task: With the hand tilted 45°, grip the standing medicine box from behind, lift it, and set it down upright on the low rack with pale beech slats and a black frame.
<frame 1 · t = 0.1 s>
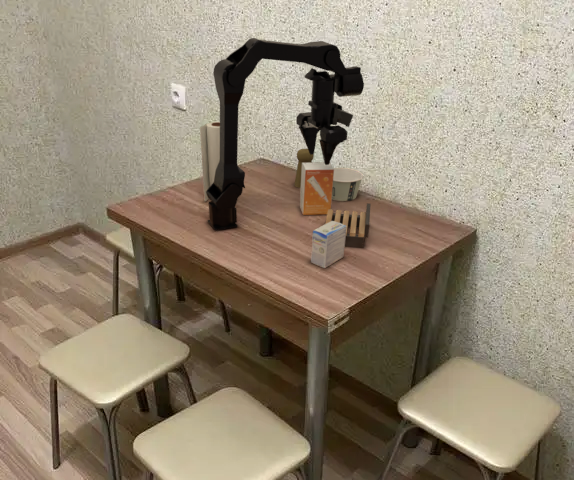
hand: (319, 159, 156), 15 cm above the table, tool pointing down, fingers open, 9 cm apart
food container: (341, 196, 176), on the table
paper towel roll: (218, 199, 170), on the table
rack: (344, 235, 152), on the table
small box: (314, 211, 165), on the table
medicine box: (327, 261, 140), on the table
brown pawn figure: (303, 185, 182), on the table
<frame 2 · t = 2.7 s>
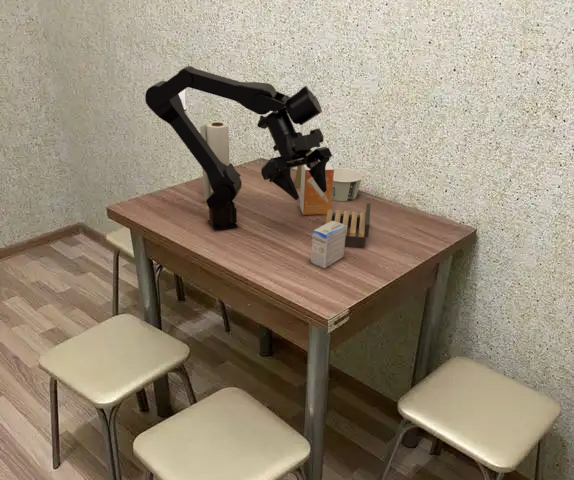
hand: (311, 195, 138), 13 cm above the table, tool tilted 45°, fingers open, 9 cm apart
nothing on the table moved.
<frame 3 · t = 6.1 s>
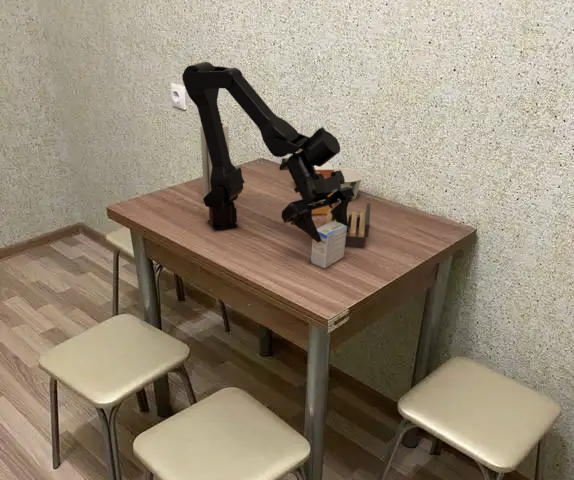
hand: (333, 237, 135), 7 cm above the table, tool tilted 45°, fingers closed on medicine box, 8 cm apart
medicine box: (327, 261, 140), on the table, touching gripper
everything else where it was.
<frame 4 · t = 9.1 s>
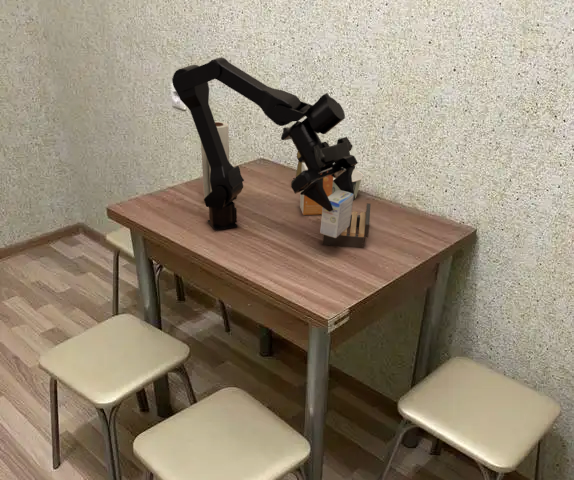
hand: (342, 205, 135), 13 cm above the table, tool tilted 45°, fingers closed on medicine box, 8 cm apart
medicine box: (334, 231, 139), point 6 cm above the table, touching gripper
everything else where it was.
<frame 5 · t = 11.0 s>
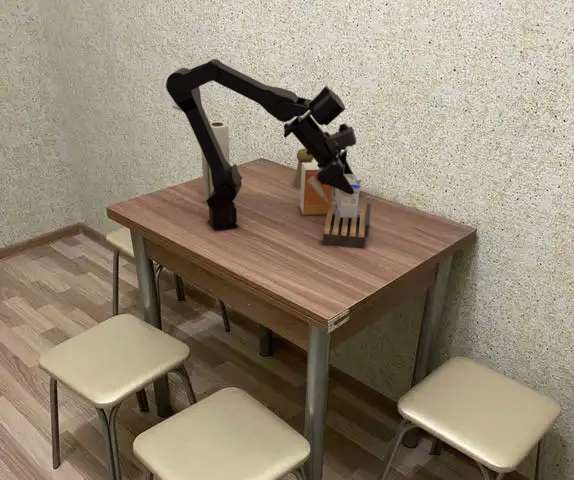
hand: (353, 187, 144), 13 cm above the table, tool tilted 45°, fingers closed on medicine box, 8 cm apart
medicine box: (345, 212, 149), point 6 cm above the table, touching gripper
everything else where it was.
when the fingers open (11 cm above the table, at t = 12.4 s): medicine box stays where it is, resting on rack.
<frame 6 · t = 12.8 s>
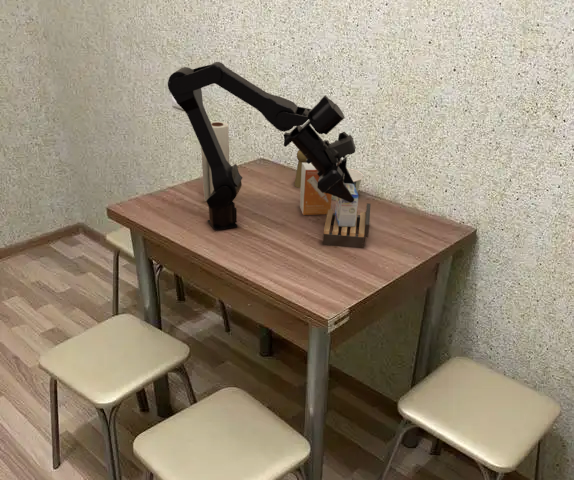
hand: (353, 194, 146), 11 cm above the table, tool tilted 45°, fingers open, 9 cm apart
medicine box: (344, 221, 150), point 4 cm above the table, touching rack
everything else where it was.
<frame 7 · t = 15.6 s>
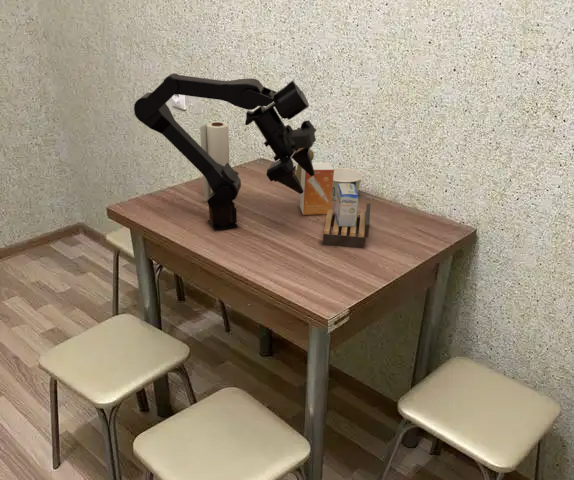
hand: (307, 184, 147), 13 cm above the table, tool tilted 35°, fingers open, 9 cm apart
nothing on the table moved.
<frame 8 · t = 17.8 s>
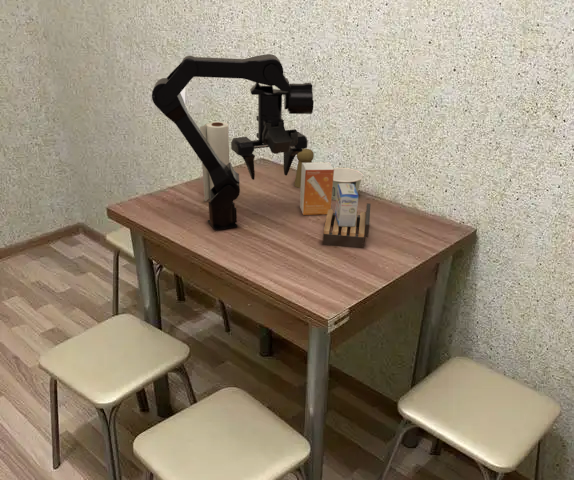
hand: (269, 177, 149), 13 cm above the table, tool pointing down, fingers open, 9 cm apart
nothing on the table moved.
at the end: medicine box inside the target area on the rack (0.1 cm from its centre), point 3.8 cm above the rack's base; medicine box tilted 0°; the gripper is holding nothing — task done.
